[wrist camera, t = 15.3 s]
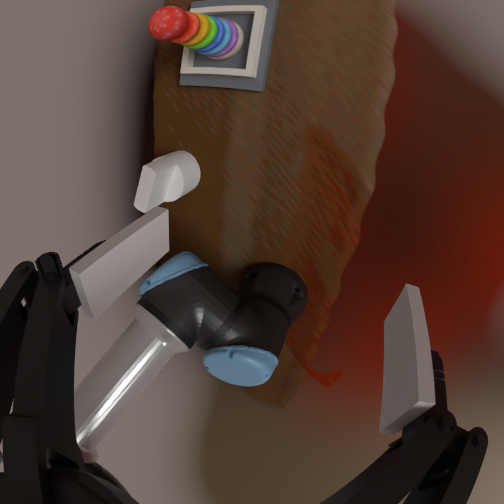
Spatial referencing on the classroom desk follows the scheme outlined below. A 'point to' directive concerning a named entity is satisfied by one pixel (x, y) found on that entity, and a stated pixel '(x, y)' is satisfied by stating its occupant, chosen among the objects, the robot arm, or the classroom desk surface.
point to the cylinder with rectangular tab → (166, 180)
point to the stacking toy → (197, 32)
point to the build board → (250, 54)
